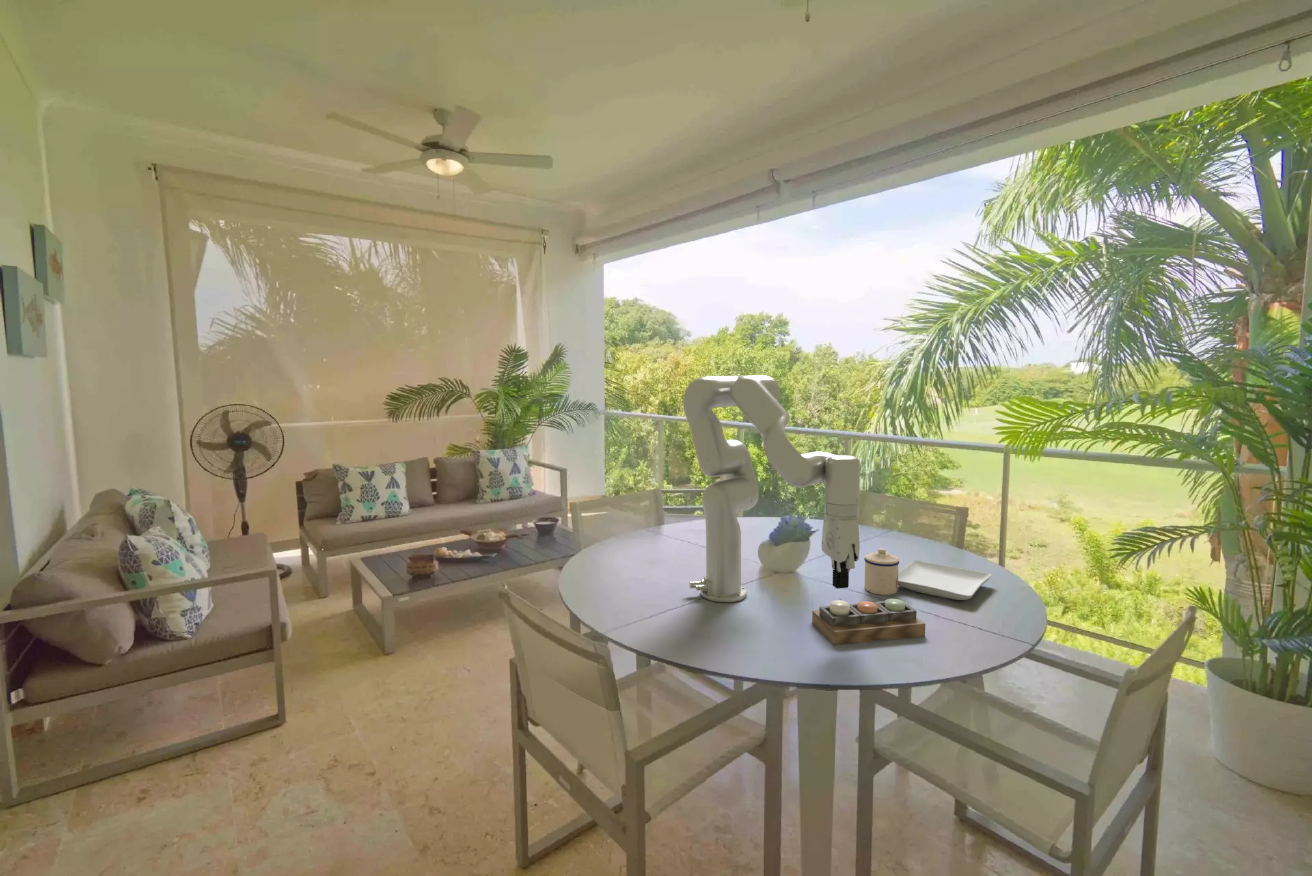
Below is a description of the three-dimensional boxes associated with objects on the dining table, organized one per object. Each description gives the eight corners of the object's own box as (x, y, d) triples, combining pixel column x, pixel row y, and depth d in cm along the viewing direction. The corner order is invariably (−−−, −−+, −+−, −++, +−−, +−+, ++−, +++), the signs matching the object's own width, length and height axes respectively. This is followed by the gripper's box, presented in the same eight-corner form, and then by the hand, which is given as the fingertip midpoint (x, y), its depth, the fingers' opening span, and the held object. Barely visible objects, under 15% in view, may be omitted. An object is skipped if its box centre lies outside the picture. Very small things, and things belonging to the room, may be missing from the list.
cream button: (834, 618, 134) (835, 608, 134) (826, 610, 138) (826, 600, 138) (852, 616, 135) (853, 606, 134) (843, 609, 139) (844, 599, 139)
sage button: (891, 616, 136) (891, 606, 136) (881, 609, 141) (881, 599, 140) (908, 615, 137) (908, 605, 137) (898, 607, 141) (898, 598, 141)
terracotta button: (863, 619, 135) (863, 609, 135) (853, 611, 140) (854, 601, 139) (880, 617, 136) (881, 607, 136) (871, 610, 140) (871, 600, 140)
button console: (834, 644, 130) (835, 623, 130) (812, 622, 142) (812, 602, 142) (925, 636, 134) (925, 615, 133) (895, 615, 146) (896, 595, 145)
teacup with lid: (904, 595, 159) (905, 553, 157) (871, 596, 158) (872, 554, 157) (884, 579, 171) (886, 540, 169) (854, 580, 170) (855, 541, 169)
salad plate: (887, 588, 163) (887, 576, 163) (914, 569, 179) (915, 558, 179) (970, 608, 149) (971, 595, 149) (992, 585, 165) (992, 573, 164)
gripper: (812, 503, 141) (811, 577, 143) (842, 518, 126) (840, 600, 128) (841, 501, 142) (840, 575, 144) (874, 516, 127) (872, 597, 129)
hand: (840, 586), depth 136 cm, fingers closed
